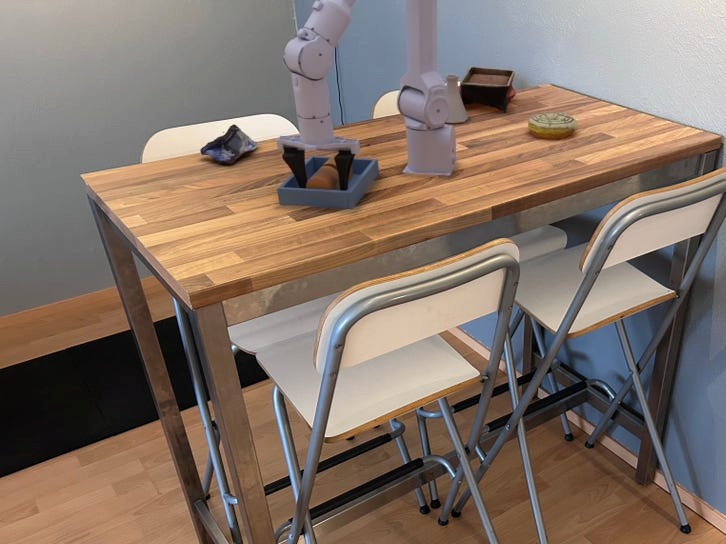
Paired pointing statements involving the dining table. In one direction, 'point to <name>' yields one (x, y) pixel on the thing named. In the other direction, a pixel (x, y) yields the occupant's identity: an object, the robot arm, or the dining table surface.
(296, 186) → the tray
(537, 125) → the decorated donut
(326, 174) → the bread roll
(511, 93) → the square planter pot
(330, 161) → the cylinder
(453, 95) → the flask
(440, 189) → the dining table surface
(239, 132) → the snack package
